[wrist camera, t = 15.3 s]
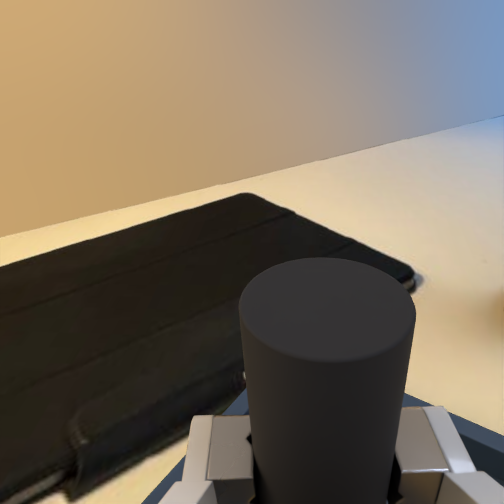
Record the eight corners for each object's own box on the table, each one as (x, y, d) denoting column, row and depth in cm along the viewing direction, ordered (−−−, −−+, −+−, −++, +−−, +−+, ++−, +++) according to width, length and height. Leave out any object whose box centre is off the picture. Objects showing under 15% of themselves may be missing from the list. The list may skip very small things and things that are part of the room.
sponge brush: (275, 737, 10) (238, 440, 5) (220, 590, 13) (157, 294, 8) (420, 617, 12) (514, 303, 7) (345, 511, 15) (368, 227, 9)
